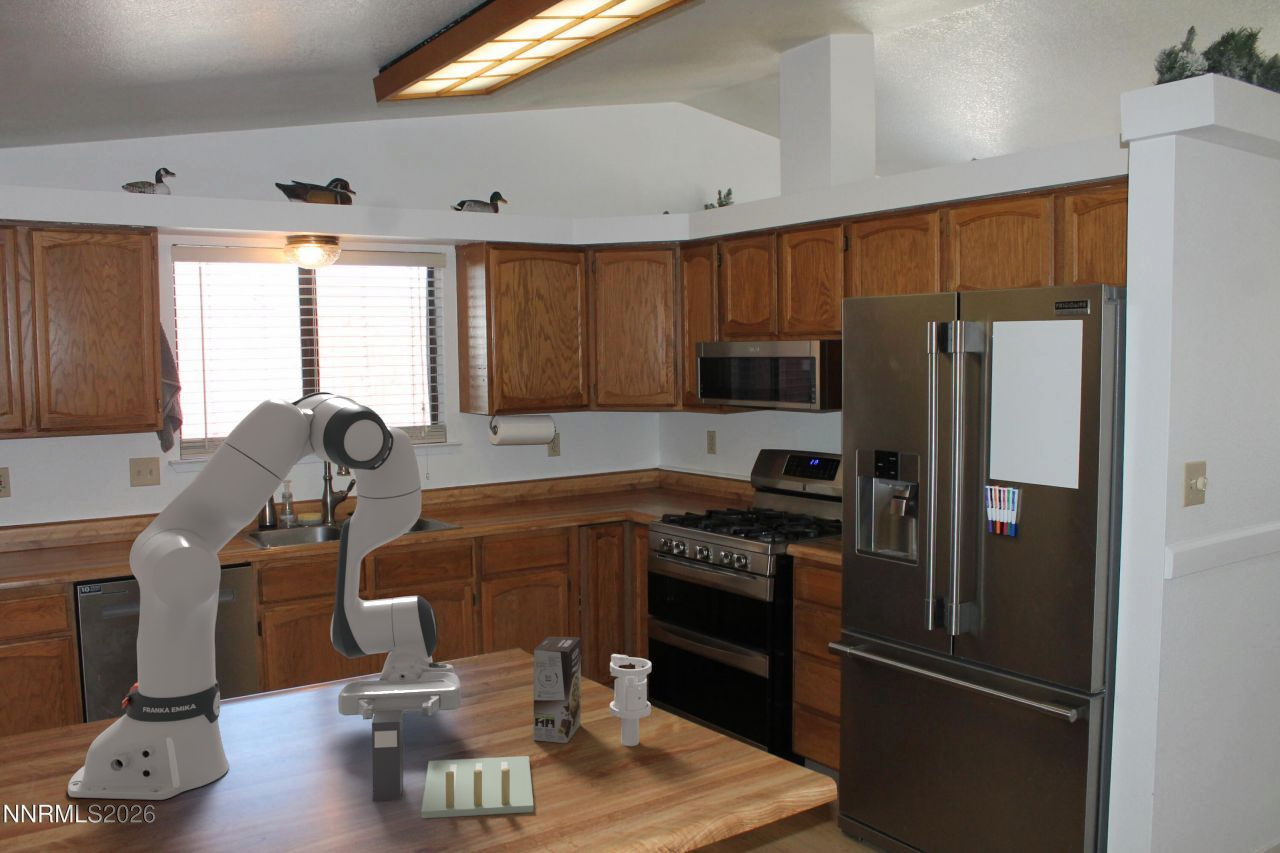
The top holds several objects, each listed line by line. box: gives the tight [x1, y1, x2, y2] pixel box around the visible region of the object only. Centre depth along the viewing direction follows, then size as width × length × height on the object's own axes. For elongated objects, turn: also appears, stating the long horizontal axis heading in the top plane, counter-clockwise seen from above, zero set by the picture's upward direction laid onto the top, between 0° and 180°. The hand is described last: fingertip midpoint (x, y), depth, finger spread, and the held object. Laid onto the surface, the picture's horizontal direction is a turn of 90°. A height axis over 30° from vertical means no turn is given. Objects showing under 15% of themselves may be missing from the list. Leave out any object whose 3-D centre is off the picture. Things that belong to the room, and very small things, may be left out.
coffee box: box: [532, 635, 582, 744], centre depth 178 cm, size 9×6×16 cm
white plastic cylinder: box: [609, 653, 652, 747], centre depth 174 cm, size 7×7×15 cm
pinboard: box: [420, 755, 534, 819], centre depth 156 cm, size 16×18×6 cm
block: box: [371, 710, 404, 802], centre depth 154 cm, size 4×5×12 cm
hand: (397, 713), depth 166 cm, fingers open, 8 cm apart
